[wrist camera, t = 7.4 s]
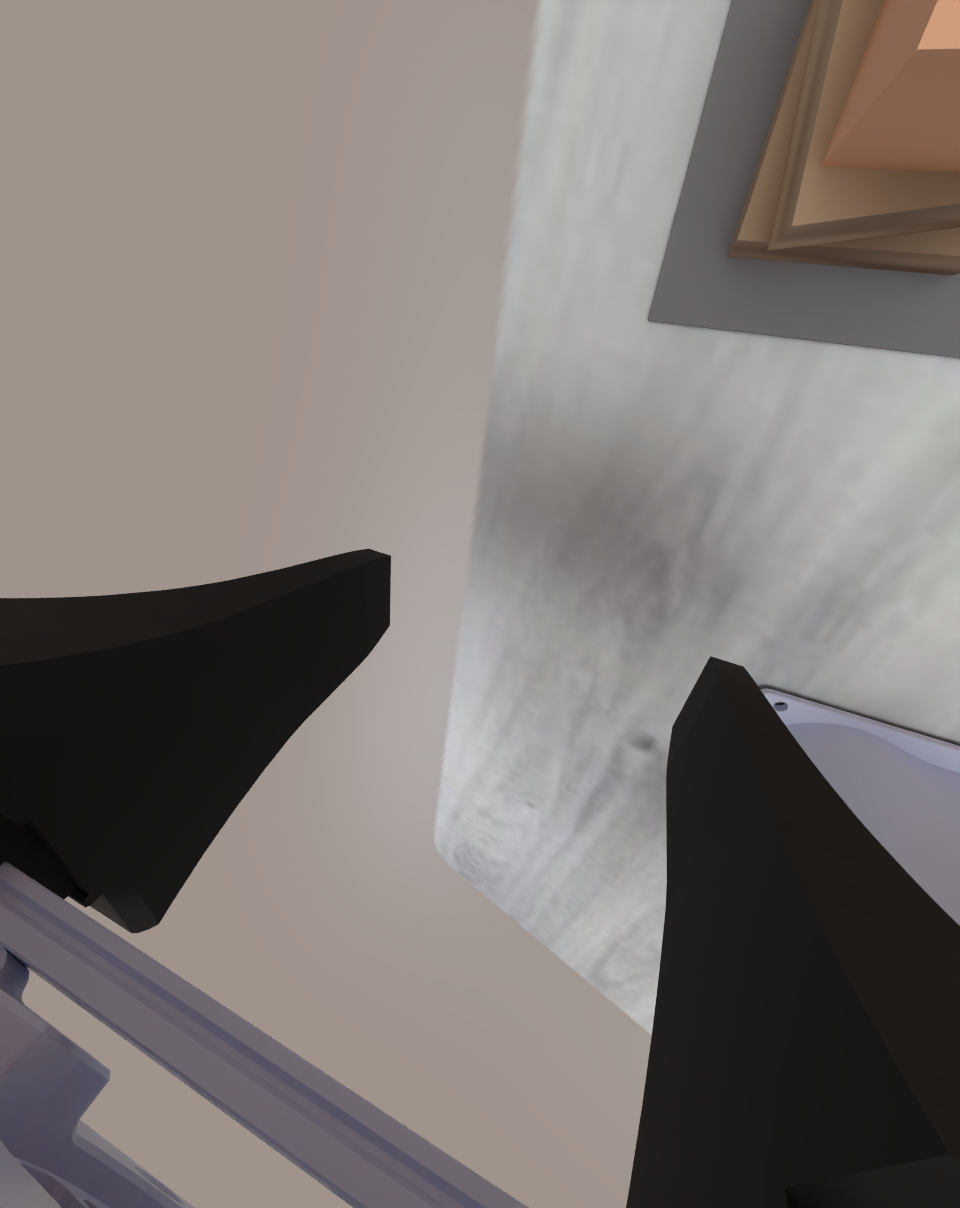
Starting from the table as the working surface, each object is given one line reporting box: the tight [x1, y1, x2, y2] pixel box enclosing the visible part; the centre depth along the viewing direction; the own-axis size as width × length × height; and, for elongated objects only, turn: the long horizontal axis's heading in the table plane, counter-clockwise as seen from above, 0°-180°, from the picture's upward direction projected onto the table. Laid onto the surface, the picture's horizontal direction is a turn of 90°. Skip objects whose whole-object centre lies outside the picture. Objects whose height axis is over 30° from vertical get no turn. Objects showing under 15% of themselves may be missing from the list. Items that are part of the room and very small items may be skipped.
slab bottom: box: [728, 0, 960, 275], centre depth 10 cm, size 6×6×3 cm
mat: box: [648, 0, 960, 358], centre depth 11 cm, size 9×9×1 cm
